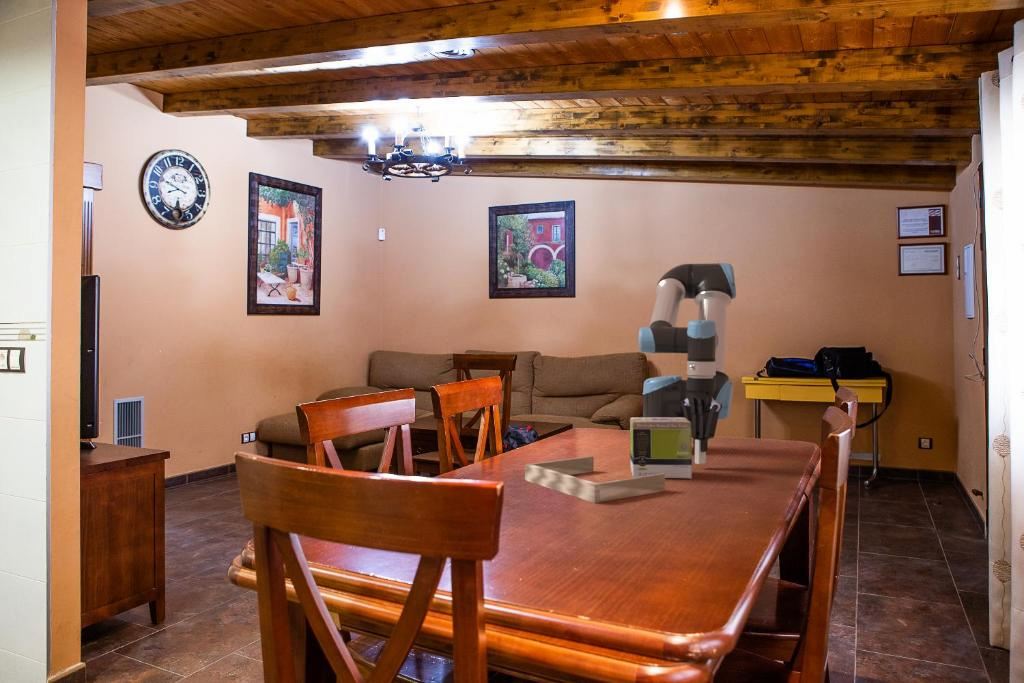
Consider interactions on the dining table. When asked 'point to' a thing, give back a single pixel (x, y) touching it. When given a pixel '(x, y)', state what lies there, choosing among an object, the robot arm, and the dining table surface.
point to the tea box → (661, 446)
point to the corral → (560, 480)
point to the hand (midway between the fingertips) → (700, 463)
